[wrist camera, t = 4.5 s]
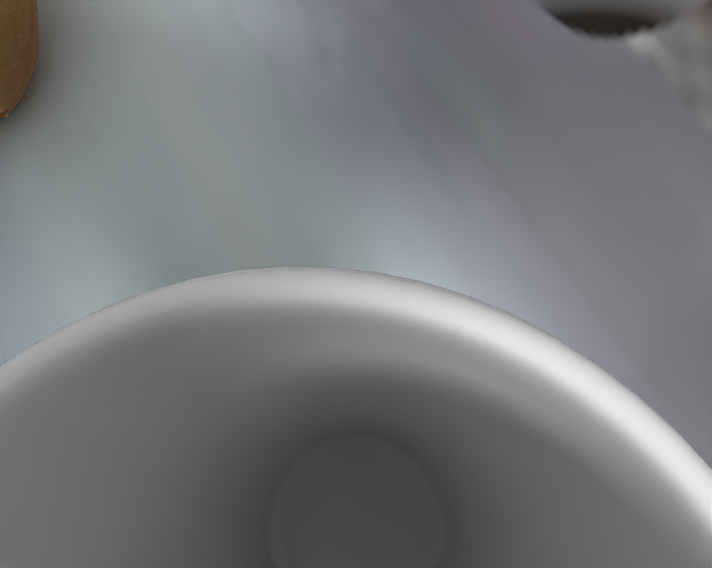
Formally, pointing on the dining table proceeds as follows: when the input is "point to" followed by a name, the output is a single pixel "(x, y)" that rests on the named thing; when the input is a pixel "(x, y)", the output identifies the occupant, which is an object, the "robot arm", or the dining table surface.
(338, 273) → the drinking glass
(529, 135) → the dining table surface
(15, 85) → the bread roll
